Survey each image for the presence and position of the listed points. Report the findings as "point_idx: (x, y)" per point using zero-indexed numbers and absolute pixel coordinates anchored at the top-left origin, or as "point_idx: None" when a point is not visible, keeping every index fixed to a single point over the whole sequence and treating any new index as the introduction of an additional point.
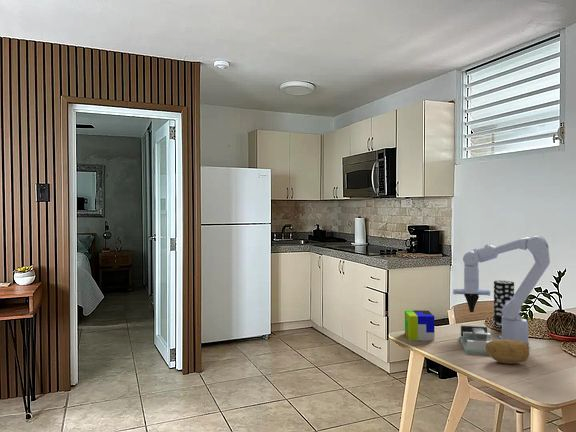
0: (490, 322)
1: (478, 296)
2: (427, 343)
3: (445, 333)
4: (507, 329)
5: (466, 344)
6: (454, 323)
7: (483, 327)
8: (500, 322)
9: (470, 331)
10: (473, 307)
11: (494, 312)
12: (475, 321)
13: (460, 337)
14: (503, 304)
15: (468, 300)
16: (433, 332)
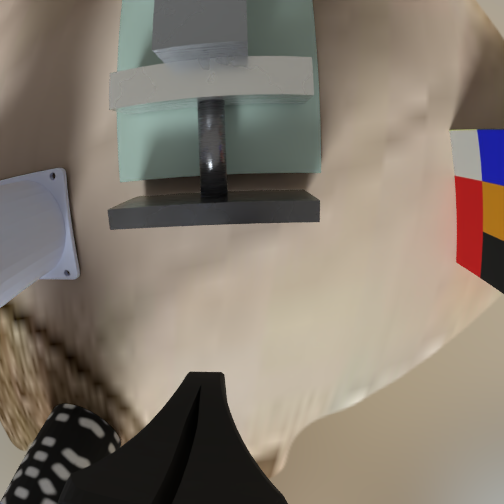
0: None
1: (59, 500)
2: (474, 77)
3: (375, 281)
4: (4, 197)
5: (290, 15)
6: (286, 446)
7: (134, 206)
8: (83, 428)
9: (240, 195)
10: (178, 400)
11: None
12: None
13: (313, 156)
14: (39, 486)
15: (241, 468)
16: (480, 129)
